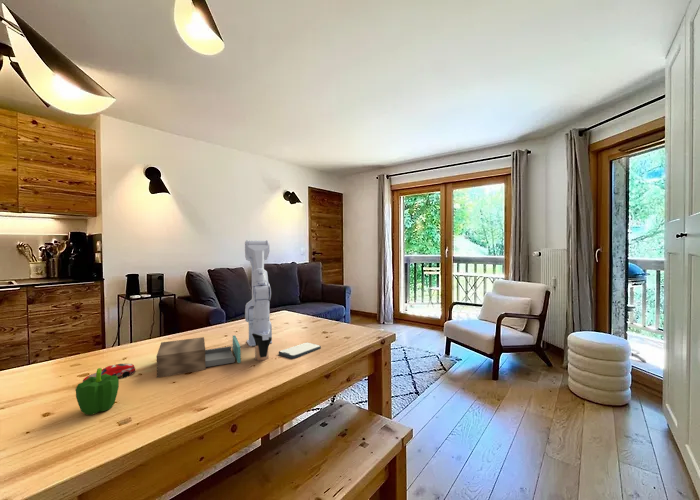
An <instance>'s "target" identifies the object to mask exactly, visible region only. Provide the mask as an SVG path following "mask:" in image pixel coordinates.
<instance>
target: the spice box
mask: <svg viewBox="0 0 700 500" xmlns="http://www.w3.org/2000/svg"><path fill="white" fill-rule="evenodd" d="M205 350H206V344H205V337H204V336H202V337H195V338H187V339H180V340H179V339H178V340H177V339H176V340H170V341H161V343H160V346H159V347H158V351H157V353H156V358H155V359H156V378H163V377H169V376H174V375H181V374H186V373H192V372H198V371H205V370H206V367H205Z"/></svg>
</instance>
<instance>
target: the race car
mask: <svg viewBox="0 0 700 500" xmlns="http://www.w3.org/2000/svg"><path fill="white" fill-rule="evenodd" d="M136 372H137V371H136V367H135V365H134V364H133V363H116V364H112V365H108V366H105V367H103V368H102V370H101V375H103V374H108V375H111V376H117V377H118V379H122V378H124V377H125V378H126V377H127V376H128V377H129V376H132V375H134V374H135V373H136ZM89 377H96V372H95V373H91V374H89V375H87V376H85V377H84V378H83V380H82V382H84V381H85V380H86V379H88V378H89ZM128 377H127V378H128Z"/></svg>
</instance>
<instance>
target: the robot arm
mask: <svg viewBox="0 0 700 500" xmlns="http://www.w3.org/2000/svg"><path fill="white" fill-rule="evenodd" d="M269 254H270V241H269V240H247V239H246V240H245V241H244V257H245V260H246V261H248V262H249V263H250V266H251V299H250V300H249V301H248V302H246V304H245V309H244V318H245V322H246V323H248V339H247V340H246V343H247V344H248V347H253V346H254V347H255V346H256V345H258V348H259V354H260V357H266V356H267V351H268V352H269V348H270V347H269V346H270V344H272V343H273V337H272V336H273V333H272V330H273V328H272V322H271V319H270V312H271V311H270V301H271V298H272V288H271V285H270V282H269V276H268V271H267V270H266V269H265V261H267V260H268V258H269Z"/></svg>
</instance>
